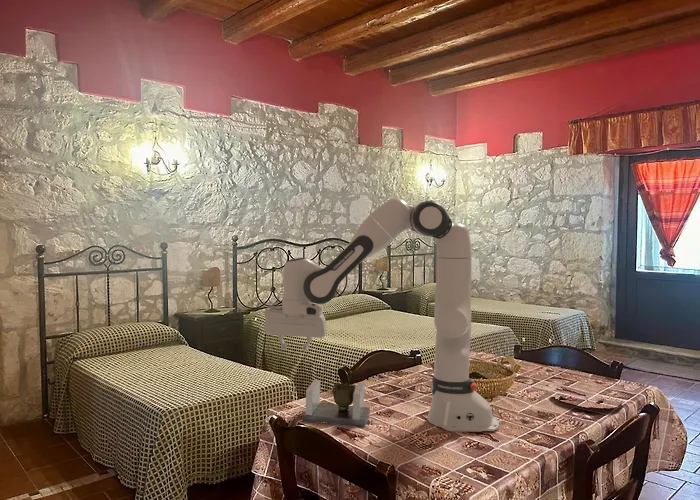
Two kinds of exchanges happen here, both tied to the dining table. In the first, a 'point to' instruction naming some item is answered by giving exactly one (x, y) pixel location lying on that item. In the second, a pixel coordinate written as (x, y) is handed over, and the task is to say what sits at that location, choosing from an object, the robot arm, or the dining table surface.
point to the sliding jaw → (312, 397)
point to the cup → (343, 395)
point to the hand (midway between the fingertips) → (294, 349)
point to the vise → (332, 414)
